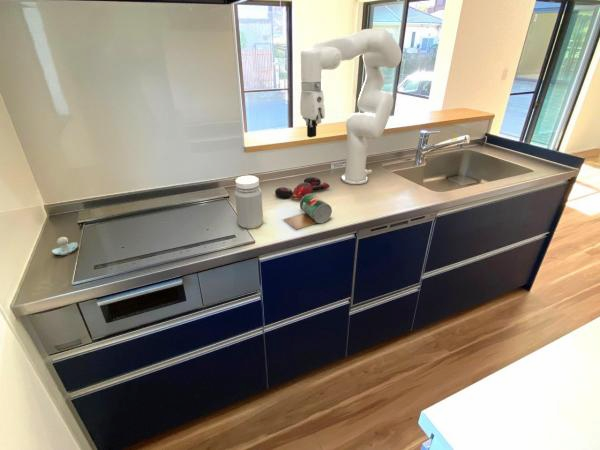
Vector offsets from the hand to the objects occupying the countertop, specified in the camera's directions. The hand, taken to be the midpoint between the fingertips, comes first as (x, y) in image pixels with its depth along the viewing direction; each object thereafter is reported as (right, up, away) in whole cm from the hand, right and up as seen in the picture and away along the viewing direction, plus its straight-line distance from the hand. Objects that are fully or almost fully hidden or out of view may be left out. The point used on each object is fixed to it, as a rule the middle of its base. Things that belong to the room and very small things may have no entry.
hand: (311, 136), depth 134 cm
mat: (-2, -33, -1) cm, 33 cm away
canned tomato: (-1, -26, +3) cm, 26 cm away
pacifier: (-82, -44, -20) cm, 95 cm away
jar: (-23, -34, -3) cm, 42 cm away
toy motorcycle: (-3, -21, +21) cm, 29 cm away
